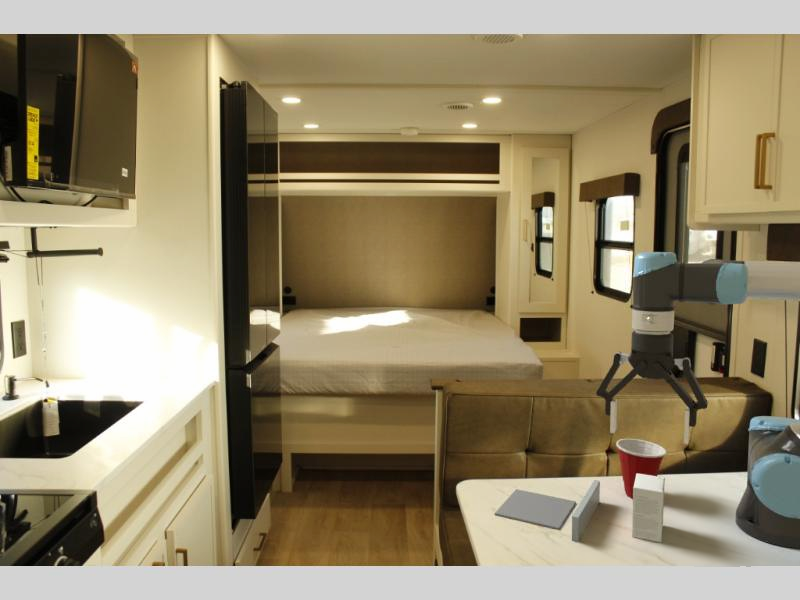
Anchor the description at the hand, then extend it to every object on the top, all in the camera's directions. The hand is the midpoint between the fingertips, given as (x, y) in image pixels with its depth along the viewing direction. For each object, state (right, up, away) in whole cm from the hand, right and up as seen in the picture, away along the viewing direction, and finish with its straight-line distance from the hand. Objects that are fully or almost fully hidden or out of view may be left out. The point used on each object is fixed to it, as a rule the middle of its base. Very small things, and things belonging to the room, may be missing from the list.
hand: (648, 436), depth 118 cm
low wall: (-10, -20, +8) cm, 23 cm away
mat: (-19, -19, +14) cm, 30 cm away
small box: (+1, -20, +3) cm, 20 cm away
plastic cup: (+6, -18, +19) cm, 27 cm away
